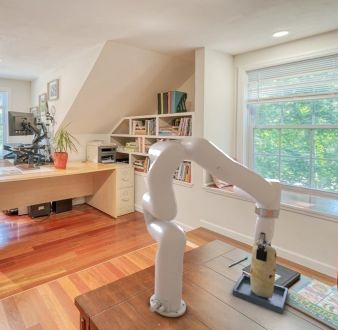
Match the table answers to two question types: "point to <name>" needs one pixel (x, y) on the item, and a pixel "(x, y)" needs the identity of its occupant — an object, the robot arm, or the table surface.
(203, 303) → the table surface
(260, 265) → the food model
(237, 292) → the serving tray
